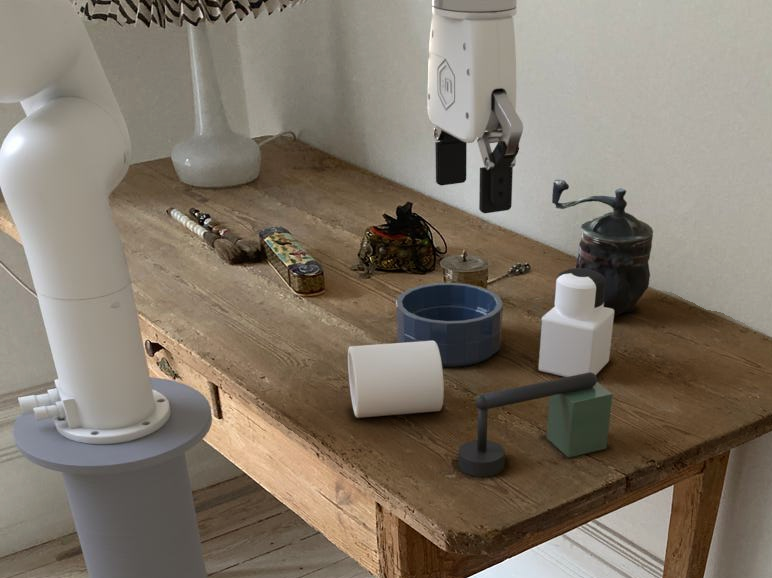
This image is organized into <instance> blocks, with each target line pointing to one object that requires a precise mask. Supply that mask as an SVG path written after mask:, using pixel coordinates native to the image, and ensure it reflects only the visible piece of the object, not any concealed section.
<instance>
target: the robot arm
mask: <svg viewBox="0 0 772 578" xmlns="http://www.w3.org/2000/svg"><path fill="white" fill-rule="evenodd" d="M517 2H518V0H431V13H432V16H431V21H430V22H431V23H430V33H429V44H428V60H427V61H428V64H427V68H428V69H427V117H428V119H429V121H430V122H431V123H432V124H433V125H434V128H433V132H432V134H433V138H434V141H435V142H434V144H435V145H434V146H435V148H434V149H435V183H436V184H437V185H439V186H441V187H442V186H449V185H457V184H463V183H465V182H466V181H467V151H468V150H467V149H468V148H467V144H472V143H474V142H475V141H476V142H477V145H478V148H479V152H480V156H481V160H482V163H483V167H479V195H478V196H479V200H478V201H479V202H478V209H479V211H480V212H481V213H483V214H490V213H499V212H505V211H510V210H511V209H512V204H513V203H512V201H513V176H514V175H513V170H514V169H513V168H514V167H515V166H516V163H517V159H516V157H517V155H518V154H519V150H520V141H521V138H522V134H523V130H524V125H523V122H522V120H521V118H520V116H519V115H518V113H517V53H516V50H517V49H516V35H515V23H514V16H516V15H517V9H518V8H517V5H518V3H517ZM16 103H20V105H21V107H22V109H23V112H24V113H25V115H26V117H24V118H23V119H22V120H20V121H19V122H18V123H17V124H16V125H14V126H13V128H11V130H10V131H9V132H8V133H7V135H6V137H5V138H4V140H3V142H2V144H1V147H0V190H1V191H0V192H1V194H2V196H3V199H4V202H5V204H6V206H7V209H8V212H9V214H10V216H11V218H12V220H13V222H14V225H15V227H16V231H17V233H18V235H19V238H20V241H21V244H22V247H23V249H24V254H25V257H26V260H27V264H28V268H29V271H30V275H31V278H32V283H33V287H34V289H35V293H36V296H37V300H38V301H37V302H38V304H39V309H40V312H41V316H42V321H43V324H44V328H45V332H46V336H47V340H48V344H49V347H50V352H51V355H52V359H53V362H54V368H55V370H56V374H57V379H56V378H55V379H54V385H55V388H51V389H47V390H46V391H47V393H42V394H37V395H35V394H32V395H31V394H30V395H26V396H20V397H17V400H18V403H19V407H20V410H21V413H22V414H23V415H27V414H32V413H35V416H36V419H37V421H38V420H43V419H49V418H51V417H53V418H54V422H55V427H56V429H57V431H58V432H59V433H60V434H61V435H62V436H64V437H66V438H68V439H70V440H73V441H76V442H81V443H86V444H116V443H123V442H128V441H132V440H136V439H139V438H142V437H144V436H147V435H149V434H151V433H153V432H155V431H157V430H158V429H160V428H161V427H162V426H163V425H164V424H165V423H166V422H167V421H168V420H169V417H170V415H171V410H170V405H169V401H168V400H167V398H166V397H165V396H164V395H162V394H161V393H159V392H157V391H155V390H152V386H151V381H150V377H151V375H150V371H149V365H148V361H147V356H146V350H145V347H144V346H145V345H144V340H143V334H142V330H141V325H140V324H141V323H140V319H139V315H138V314H139V313H138V309H137V305H136V304H137V303H136V299H135V294H134V288H133V284H132V279H131V274H130V269H129V265H128V260H127V256H126V251H125V248H124V244H123V241H122V237H121V235H120V232H119V229H118V227H117V224H116V222H115V219H114V217H113V213H112V211H111V210H112V209H111V206H110V201H109V197H110V195H111V194H112V193H113V191H114V190H115V189H116V188H117V187H118V186H119V184H120V183H121V182H122V181H123V180H124V178H125V177H126V174H127V173H128V171H129V169H130V165H131V161H132V152H133V151H132V150H133V149H132V141H131V137H130V133H129V129H128V126H127V124H126V120H125V118H124V115H123V113H122V111H121V108H120V106H119V103H118V101H117V99H116V97H115V94H114V91H113V89H112V87H111V85H110V82H109V80H108V77H107V75H106V72H105V70H104V68H103V66H102V63H101V61H100V58H99V55H98V54H97V51H96V49H95V46H94V45H93V42H92V39H91V37H90V35H89V32H88V31H87V28H86V26H85V24H84V22H83V19H82V18H81V16H80V14H79V12H78V11H77V9H76V8H75V6H74V5H73V3H72V2H71V1H70V0H0V104H16ZM495 143H496V145H495V147H494V149H493V150H492V147H491V144H495Z"/></svg>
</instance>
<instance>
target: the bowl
mask: <svg viewBox="0 0 772 578" xmlns="http://www.w3.org/2000/svg"><path fill="white" fill-rule="evenodd" d="M503 308H504V303H503V301H502V298H501V297H500V295H498V294H496V292H494V291H493V290H489V289H487V288H485V287H483V286H478V285H474V284H469V283H463V282H462V283H461V282H435V283H428V284H427V283H426V284H422V285H417V286H415V287H411V288H408V289H407V290H405V291H403V292H402V293H400V294H399V295H398V297H397V298H396V300H395V317H396V318H395V321H396V343H406V342H420V341H435V342H436V343H437V346H438V348H439V352H440V356H441V362H442V367H443V368H446V367H447V368H454V367H465V366H472V365H476V364H480V363H482V362H484V361H486V360H488V359H490V358H491V357H492V356H493V355H494V354H496V353H497V352H498V351H499V350H500V349H501V345H502V340H503V338H502V337H503V334H502V333H503V312H504V311H503V310H504V309H503Z"/></svg>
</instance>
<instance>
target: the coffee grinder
mask: <svg viewBox="0 0 772 578" xmlns="http://www.w3.org/2000/svg"><path fill="white" fill-rule="evenodd" d="M569 188H570V185H569V184H568V183H567V182H566V181H565V179H564V180H563V179H555V180H554V182H553V183H552V197H551V203H552V204H554V205H555V208H556V209H560V210H565V209H567V208H571V207H575V206H577V205H579V204H583V203H587V202H588V203H590V202H599V203H602V204H605V205H607V206H609V207H610V208H612V210H613V211H610V212H607V213H604V214H603V215H601V216H600V215H599V216H597V217H594V218H590V219H589V220H587V221H584V222H583V223H582V224H580V229H581V231H580V240H579V241H580V242H579V244H578V252H577V253H578V254H577V258H576V261H575V264H574V267H573V268H586V269H591V270H594V271H596V272H598V273H600V274H602V275H603V276H604V277H605V279H606V288H605V297H604V307H606V308H611V309H613V310H614V319H615V318H616V317H617V316H619V315H620V314H623V313H627V314H629V313H632V312H635V307H636V305H637V303H638V301H639V300H640V299H641V298H642V297H643V295H644V294H645V292H646V291H647V289H648V288H649V286H650V278H651V271H650V265H649V261H650V257H651V252H652V247H653V245H652V244H653V237H654V229H653V228H652V226H650V225H649V224H648V223H646V222H644V221H642V220H639V219H638V218H637V217H635V216H634V215H632V214H630V213H628V212H626V211H625V210H626V207H627V206H628V202H627V201H626V199H625V198H624V197H625V196H626V193H627V190H626V189H625V188H622V187H620V188H617V189H615V190H614V195H615V196H608V195H591V196H587V197H580V198H577V199H574V200H572V201H566V202H559V201H560V198H561V196H562V194H563V192H565V191H567V190H569Z"/></svg>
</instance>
